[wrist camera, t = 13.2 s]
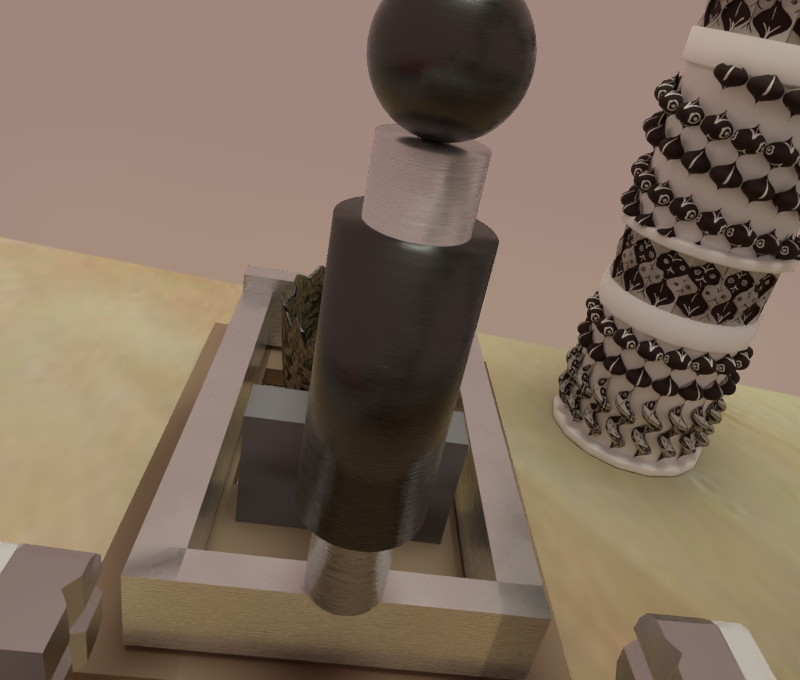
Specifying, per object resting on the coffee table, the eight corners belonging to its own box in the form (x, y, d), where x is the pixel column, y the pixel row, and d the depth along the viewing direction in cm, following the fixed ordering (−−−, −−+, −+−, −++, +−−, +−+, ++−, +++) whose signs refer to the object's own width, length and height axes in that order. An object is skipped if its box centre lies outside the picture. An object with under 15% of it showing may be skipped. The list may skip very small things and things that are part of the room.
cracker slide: (460, 361, 38) (555, -5, 29) (532, 717, 20) (850, 36, 11) (243, 330, 37) (272, -64, 28) (108, 682, 19) (64, -131, 10)
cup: (306, 387, 36) (324, 250, 32) (435, 430, 34) (470, 293, 30) (236, 467, 29) (248, 308, 25) (392, 524, 28) (429, 365, 24)
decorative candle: (743, 470, 36) (1032, -50, 24) (611, 493, 32) (879, -111, 20) (634, 378, 43) (817, -59, 31) (516, 388, 39) (673, -106, 27)
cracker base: (481, 375, 40) (506, 286, 37) (570, 732, 21) (635, 609, 18) (214, 337, 38) (219, 241, 35) (54, 690, 19) (36, 546, 17)
